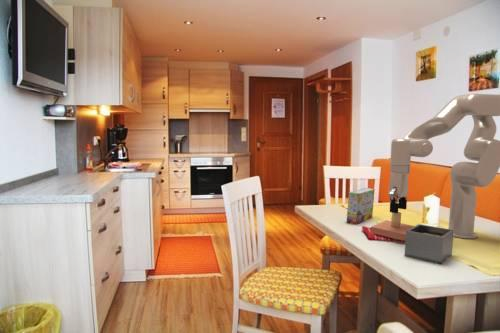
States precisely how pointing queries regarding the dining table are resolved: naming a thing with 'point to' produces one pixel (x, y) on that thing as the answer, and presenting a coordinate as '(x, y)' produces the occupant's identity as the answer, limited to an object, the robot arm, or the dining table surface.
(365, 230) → the dish towel
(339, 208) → the dining table surface
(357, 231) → the dining table surface
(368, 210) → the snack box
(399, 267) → the dining table surface
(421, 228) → the tin
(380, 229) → the lid
